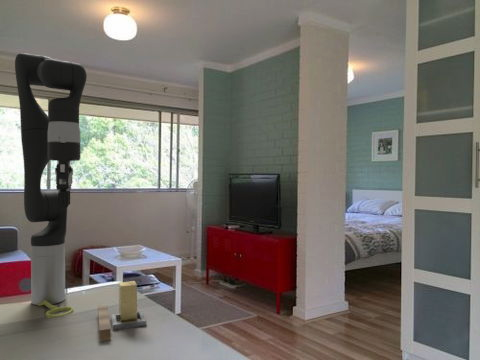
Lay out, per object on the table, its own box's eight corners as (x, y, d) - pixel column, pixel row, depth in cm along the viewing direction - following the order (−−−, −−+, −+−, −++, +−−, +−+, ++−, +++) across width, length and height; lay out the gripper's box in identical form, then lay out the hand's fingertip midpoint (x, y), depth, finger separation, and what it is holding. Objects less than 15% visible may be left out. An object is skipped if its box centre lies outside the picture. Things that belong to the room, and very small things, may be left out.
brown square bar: (98, 315, 109) (98, 306, 109) (107, 314, 109) (107, 305, 109) (99, 341, 92) (99, 330, 92) (110, 339, 93) (110, 328, 92)
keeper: (111, 319, 106) (111, 314, 106) (142, 315, 109) (142, 310, 109) (112, 329, 98) (112, 324, 98) (146, 325, 101) (146, 320, 101)
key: (44, 306, 117) (44, 299, 117) (77, 312, 113) (77, 304, 113) (23, 314, 111) (23, 306, 111) (56, 321, 106) (56, 313, 106)
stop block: (119, 321, 105) (118, 282, 104) (134, 318, 106) (134, 281, 106) (120, 326, 101) (120, 286, 101) (137, 324, 102) (136, 284, 102)
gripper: (50, 143, 106) (50, 204, 106) (44, 138, 93) (44, 208, 93) (81, 143, 109) (81, 204, 109) (79, 139, 95) (79, 208, 95)
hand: (64, 206), depth 101 cm, fingers open, 8 cm apart
